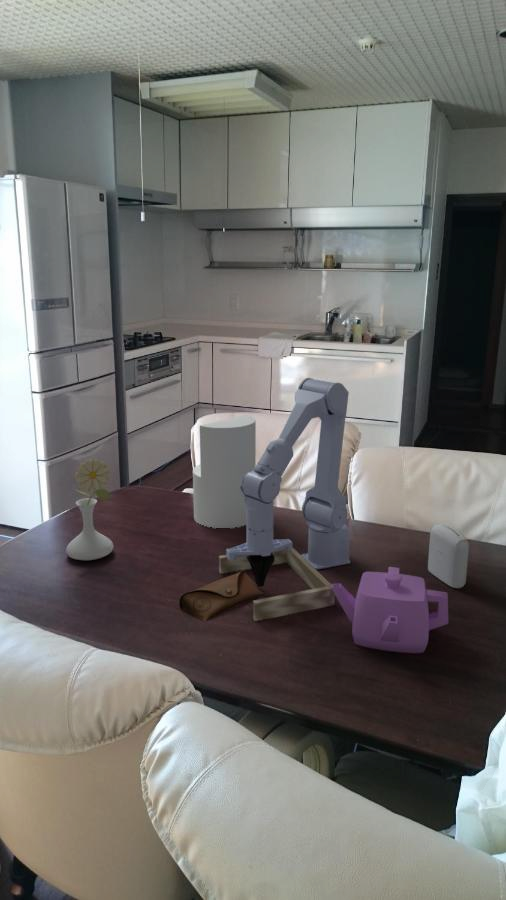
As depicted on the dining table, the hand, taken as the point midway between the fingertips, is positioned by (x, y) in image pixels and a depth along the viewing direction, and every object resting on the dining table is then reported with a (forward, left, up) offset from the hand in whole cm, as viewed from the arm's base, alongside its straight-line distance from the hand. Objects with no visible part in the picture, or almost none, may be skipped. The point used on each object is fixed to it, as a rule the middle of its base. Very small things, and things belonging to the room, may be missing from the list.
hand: (259, 584), depth 140 cm
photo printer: (-42, +10, -2) cm, 43 cm away
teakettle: (-17, +25, -2) cm, 30 cm away
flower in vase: (+31, -31, -2) cm, 44 cm away
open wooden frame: (-4, 0, -1) cm, 4 cm away
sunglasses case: (+8, +1, -2) cm, 9 cm away
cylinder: (-7, -43, -2) cm, 44 cm away
